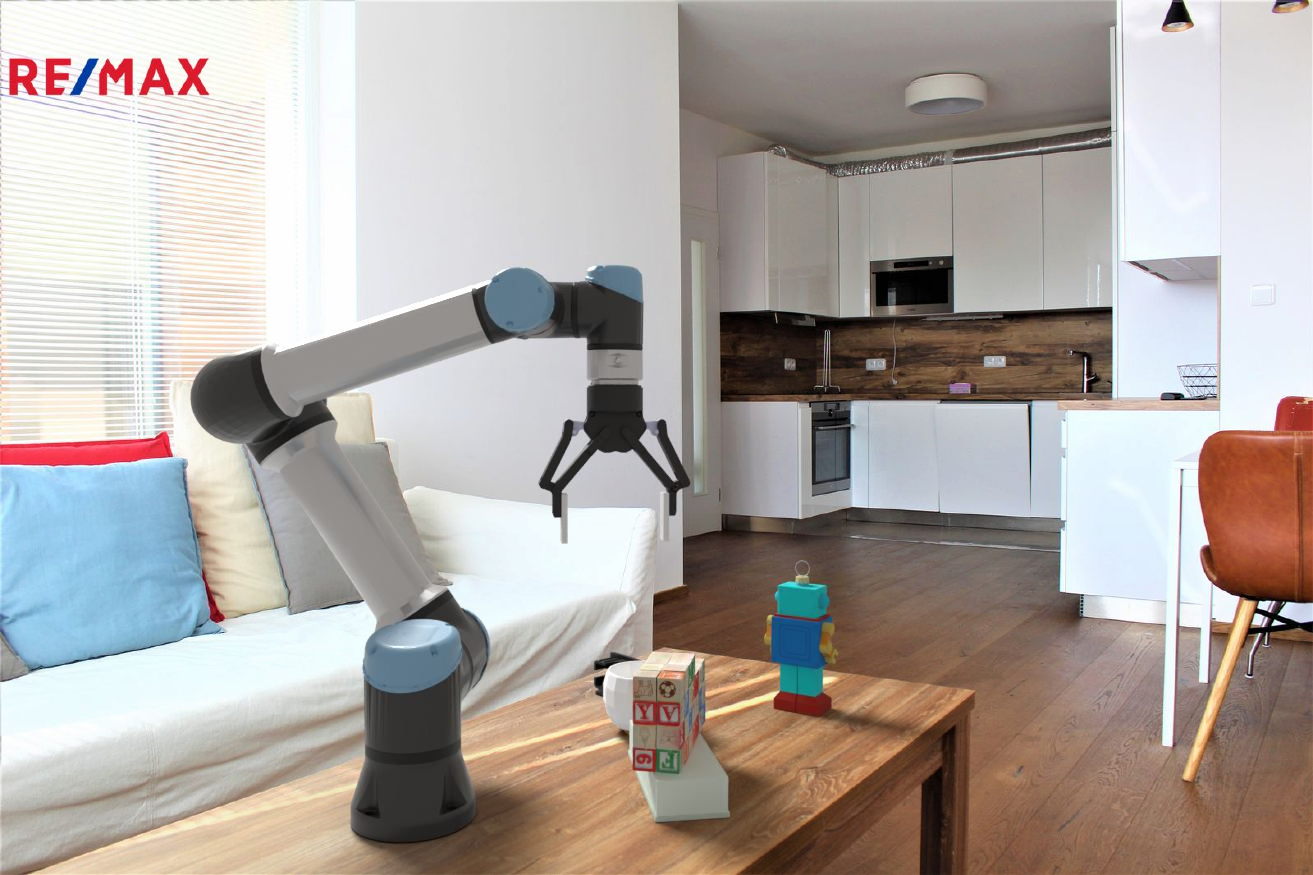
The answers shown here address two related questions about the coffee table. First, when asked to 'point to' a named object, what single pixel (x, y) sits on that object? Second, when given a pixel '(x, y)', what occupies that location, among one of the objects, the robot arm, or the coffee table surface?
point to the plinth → (686, 787)
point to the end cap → (606, 664)
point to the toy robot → (801, 645)
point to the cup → (620, 693)
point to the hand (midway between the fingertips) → (614, 541)
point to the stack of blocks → (667, 711)
